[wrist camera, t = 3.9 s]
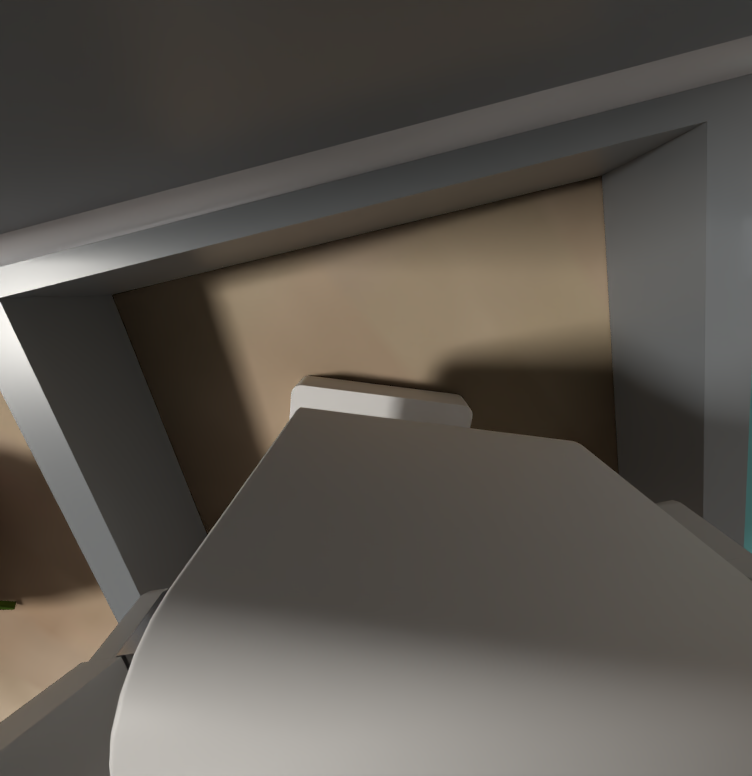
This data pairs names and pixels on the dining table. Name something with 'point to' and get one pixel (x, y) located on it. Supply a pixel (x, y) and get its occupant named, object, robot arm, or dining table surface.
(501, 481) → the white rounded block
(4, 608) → the pomegranate
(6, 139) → the equipment case
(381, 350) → the dining table surface
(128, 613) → the robot arm
